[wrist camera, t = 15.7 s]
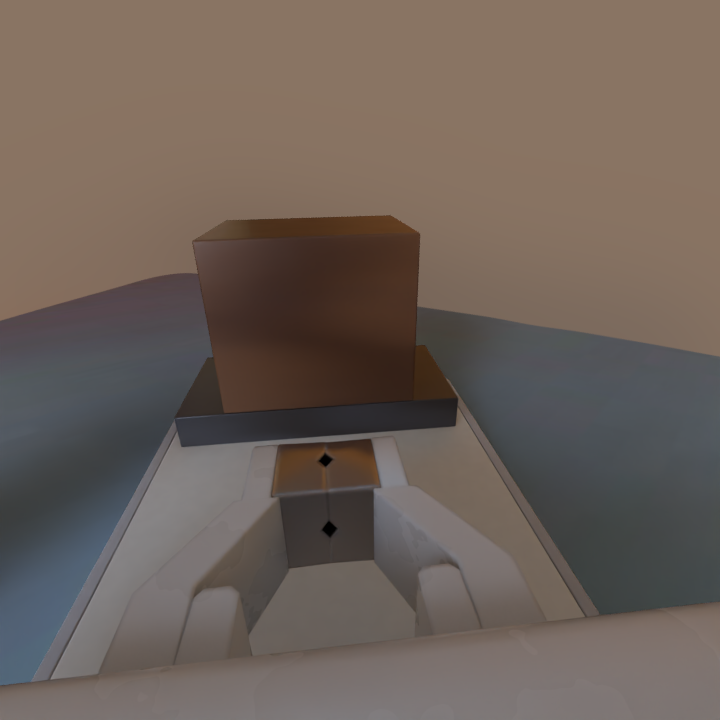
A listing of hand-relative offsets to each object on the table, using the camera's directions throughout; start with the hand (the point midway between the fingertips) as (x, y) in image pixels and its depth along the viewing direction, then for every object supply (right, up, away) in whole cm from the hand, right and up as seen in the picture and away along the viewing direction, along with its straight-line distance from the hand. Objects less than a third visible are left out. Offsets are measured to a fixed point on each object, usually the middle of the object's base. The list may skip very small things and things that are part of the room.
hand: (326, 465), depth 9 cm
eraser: (-1, 0, +12) cm, 12 cm away
